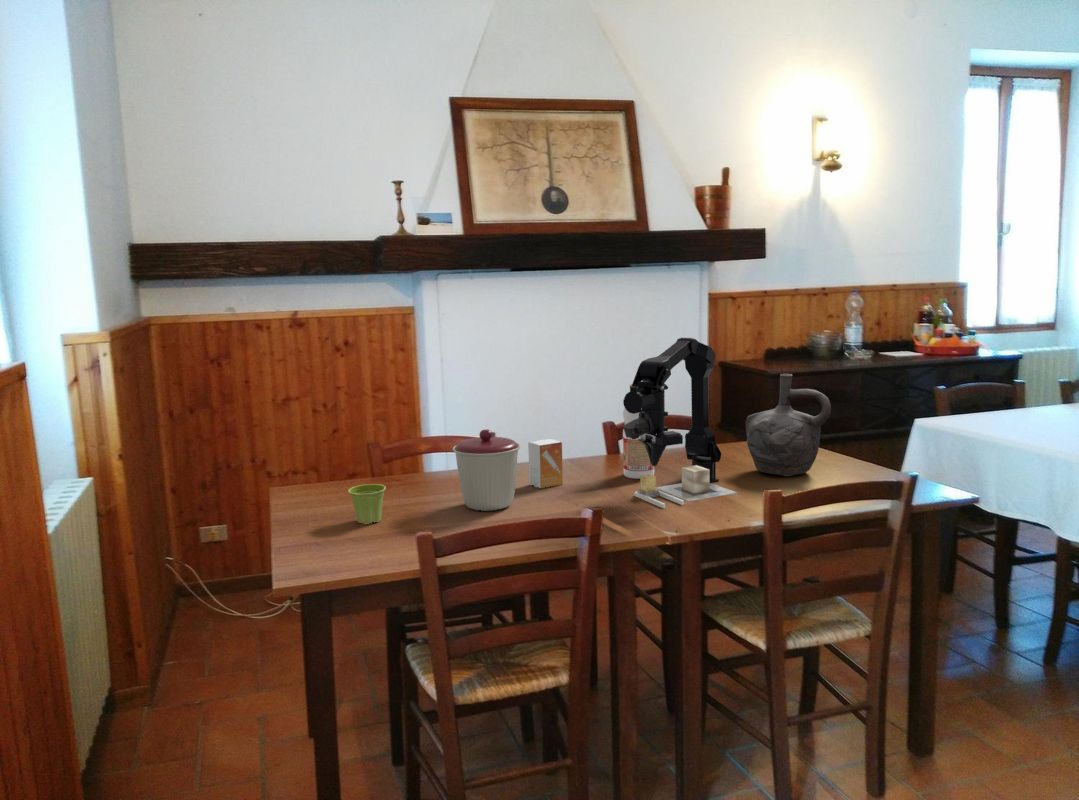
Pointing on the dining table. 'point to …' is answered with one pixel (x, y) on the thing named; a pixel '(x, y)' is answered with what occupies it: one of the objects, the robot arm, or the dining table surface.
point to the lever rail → (659, 501)
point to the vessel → (786, 433)
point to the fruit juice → (634, 453)
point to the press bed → (689, 496)
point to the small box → (545, 463)
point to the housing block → (695, 479)
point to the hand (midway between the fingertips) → (654, 465)
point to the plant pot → (367, 502)
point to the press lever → (648, 485)
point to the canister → (487, 471)
